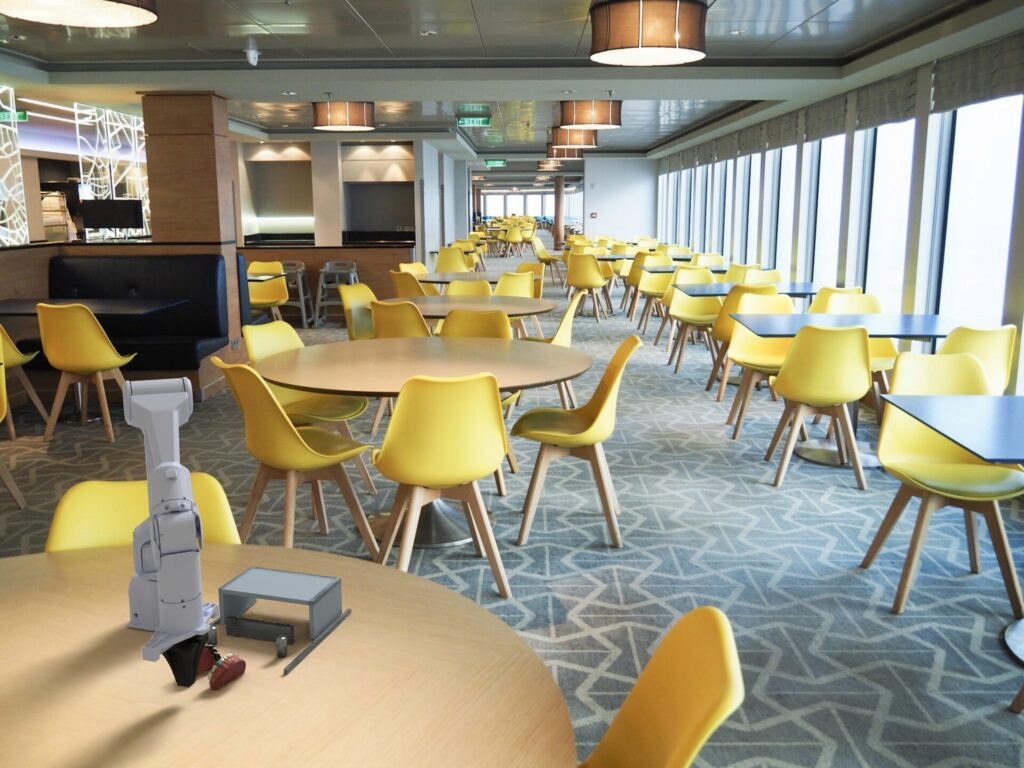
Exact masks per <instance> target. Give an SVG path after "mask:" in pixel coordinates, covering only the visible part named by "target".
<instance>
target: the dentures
mask: <svg viewBox="0 0 1024 768" xmlns="http://www.w3.org/2000/svg"><path fill="white" fill-rule="evenodd" d="M218 651H219V650H218V649H217V648H215V646H213V645H207V644H206V645H205V647H204V649H203V652H202V654H201V658H200V661H199V665H198V670H197V675H196V679H197V678H198V676H199V675H201V674H202V673H204V672H205V671H208V670H209V669H211V670H210V671H209V673H208V674H207V679H208V684H209V689H211V690H212V691H213V692H217V691H219V690H220V689H222V688H223V687H225V686H227V685H228V684H230V683H231V682H233V681H235V679H237V678H239V677H240V676H242V675H243V674H245V671H246V668H247V663H246V661H245V660H244V659H243V658H240V656H239V655H238V654H236V653H235V652H229V653H226V654H225V655H223V656H221V654H220V652H218Z"/></svg>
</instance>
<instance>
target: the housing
mask: <svg viewBox="0 0 1024 768" xmlns="http://www.w3.org/2000/svg"><path fill="white" fill-rule="evenodd" d="M342 596H343V594H342V578H341V577H337V576H330V575H329V576H328V575H321V574H313V573H306V572H298V571H289V570H282V569H275V568H268V567H267V568H266V567H259V566H258V567H257V566H250V567H248V568H246V569H245V570H244V571H242V572H241V573H239V574H238V575H236V576H235V577H234V578H232V579H230V580H229V581H227V582H225V584H223V585H221V586H220V587H218V607H219V617H220V624H219V625H220V626H222V627H226V619H225V618H227V617H228V616H234V617H239V616H240V615H242V613H244V612H245V611H246V610H248V609H249V608H251V606H253V605H254V604H256V603H257V599H259V600H266V601H275V602H281V603H289V604H293V605H294V604H295V605H302V606H308V612H309V613H308V614H309V615H308V617H309V639H311V640H315V639H316V638H317V637H318V636H319V635H320V634H321V633H323V632H324V631H325V630H326V629H327V628H328V627H329V626H330V625H331V624H332V623H333V622H334V621H335V620H336V619H337V618H339V617H340V616H341V615H342V614H343V597H342Z"/></svg>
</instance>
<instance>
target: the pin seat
mask: <svg viewBox="0 0 1024 768" xmlns="http://www.w3.org/2000/svg"><path fill="white" fill-rule="evenodd" d="M350 613H351V614H352V608H348V607H347V609H346V610H344V612H342V614H341V615H340V616H339V617H338V618H337V619H336V620H335V621H334V622H332V623H331V624H330V625H329V626H328V627H327V628H326V629H325V630H324V631H323V632H322V633H321V634H320V635H319V636H318V637H316V638H315V639H313V640H312V641H311V643H310V644H309V645H307V646H306V647H305V648H304V649H303V650H302V651H301V652H300V653H299V654H298V655H297V656H296V657H295V658H294V659H293V660H291V662H289V663H288V664H287V665H286V666H285V667H284V668H283V674H284V675H289V674H290V673H291V672H292V671H293V669H295V668H296V667H297V666H298V665H299V664H300V663H301V662H302V661H303V660H304V659H305V658H306V657H307V656H308V655H310V653H312V651H314V650H315V648H317V647H318V646H319V645H320V644H321V643H322V642H323V641H324V640H326V638H327V637H328V636H329V635H330V634H332V632H334V630H335V629H336V628H337V627H339V626H340V625H341V624H342V623H343V622H344V621H345V620H346V619H347V618H348V617H349V616H350V615H351V614H350ZM349 614H350V615H349ZM348 615H349V616H348ZM347 616H348V617H347ZM346 617H347V618H346ZM345 618H346V619H345ZM225 619H226V625H225V631H226V632H225V635H226V636H230V637H236V638H243V639H249V640H255V641H262V642H267V643H268V642H269V643H274V644H275V645H276V658H278V659H283V658H287V656H288V645H289V646H292V645H293V644H295V625H294V624H290V623H289V624H288V623H282V622H281V623H280V622H276V621H268V620H259V619H253V618H247V617H242V616H237V617H234V616H228V617H227V618H225ZM344 619H345V620H344ZM343 620H344V621H343ZM342 621H343V622H342ZM341 622H342V623H341ZM340 623H341V624H340ZM208 624H209V625H210V630H209V631H208V633H209V639H208V641H207V643H206V645H213V646H214V647H216V646H218V631H217V627H218V626H219V625H220V616H218V617H217V618H214V620H213V621H211V622H210V623H208ZM339 624H340V625H339Z"/></svg>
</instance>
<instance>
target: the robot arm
mask: <svg viewBox="0 0 1024 768" xmlns="http://www.w3.org/2000/svg"><path fill="white" fill-rule="evenodd" d="M121 388H122V398H123V399H122V401H123V411H124V412H123V414H124V420H125V422H126V423H127V425H128V426H132V427H135V428H138V429H140V431H141V432H142V434H143V439H144V440H143V443H144V455H145V456H144V458H145V469H146V488H147V501H148V502H147V503H148V517H147V518H146V519H144V520H143V521H142V522H140V523H139V524H137V525H136V526H135V527H134V529H133V532H132V543H131V545H132V556H133V557H132V558H133V568H134V573H133V575H132V576H131V578H130V580H129V583H128V605H129V608H128V609H129V618H130V622H127V628H133V629H138V630H139V629H140V630H144V631H150V632H151V631H153V634H152V636H151V637H150V639H149V640H148V641H147V642H145V644H144V645H142V646H141V653H142V660H143V661H147V662H152V663H153V662H154V663H156V662H157V661H159V660H160V655H162V656H163V658H164V660H166V662H167V664H168V666H169V668H170V670H171V672H172V675H173V677H174V680H175V682H176V686H177V687H182V688H183V687H184V688H190V687H192V686H193V685H194V684H195V683H196V679H197V678H196V675H197V670H198V665H199V661H200V658H201V654H202V652H203V649H204V647H205V645H207V641H208V639H209V633H208V631H209V630H210V625H209V624H210V623H209V622H210V620H211V619H214V620H215V619H217V618H218V617H220V611H219V603H215V602H214V603H213V602H207V601H206V602H205V603H204V604H203V590H202V589H203V586H202V571H201V570H202V569H201V555H200V554H201V553H200V550H201V551H202V550H203V545H204V531H203V523H202V516H201V514H200V511H199V508H198V504H197V502H195V498H194V497H195V496H194V491H193V485H192V484H193V483H192V478H191V472H190V470H189V469H188V468H187V467H186V466H184V465H182V464H181V460H180V459H181V458H180V432H179V431H180V430H179V429H180V427H181V426H183V425H184V424H186V423H188V422H189V418H190V417H191V415H192V414H193V411H194V398H193V397H194V395H193V386H192V382H191V380H190V379H189V378H188V377H187V376H184V377H180V378H177V377H176V378H164V379H163V378H162V379H151V380H150V379H145V380H132V381H130V380H125V382H123V384H122V387H121ZM197 541H198V542H197ZM197 545H198V546H197ZM198 547H199V548H198Z"/></svg>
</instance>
